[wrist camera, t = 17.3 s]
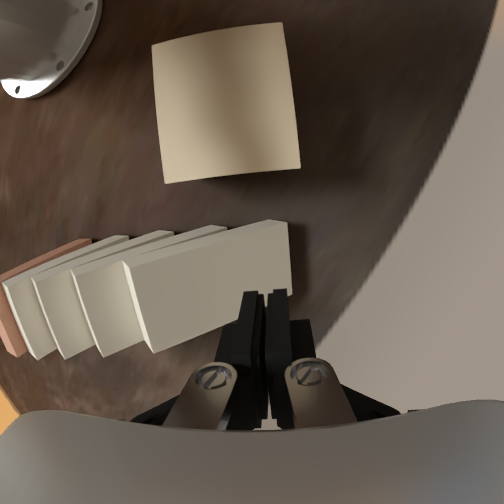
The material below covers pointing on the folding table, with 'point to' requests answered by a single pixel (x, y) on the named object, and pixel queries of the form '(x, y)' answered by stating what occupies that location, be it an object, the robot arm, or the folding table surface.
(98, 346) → the domino
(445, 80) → the folding table surface
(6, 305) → the domino
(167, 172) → the stand
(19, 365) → the folding table surface
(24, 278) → the domino
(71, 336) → the domino
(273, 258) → the domino
